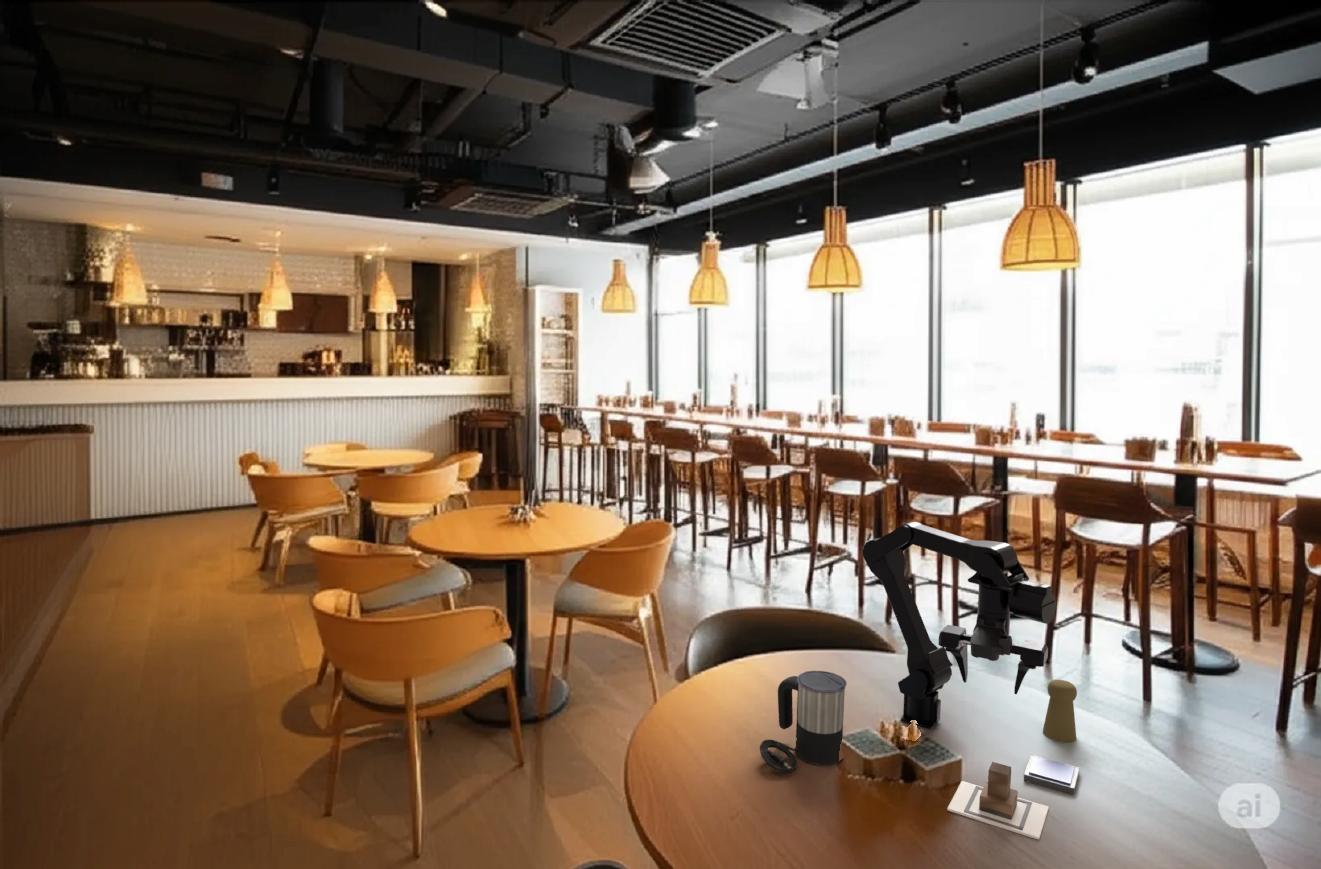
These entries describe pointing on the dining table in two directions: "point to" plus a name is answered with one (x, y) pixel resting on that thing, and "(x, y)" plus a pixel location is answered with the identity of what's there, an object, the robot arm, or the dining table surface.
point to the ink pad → (1052, 774)
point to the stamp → (998, 792)
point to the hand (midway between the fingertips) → (990, 687)
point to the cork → (1060, 712)
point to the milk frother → (809, 720)
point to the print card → (1024, 819)
